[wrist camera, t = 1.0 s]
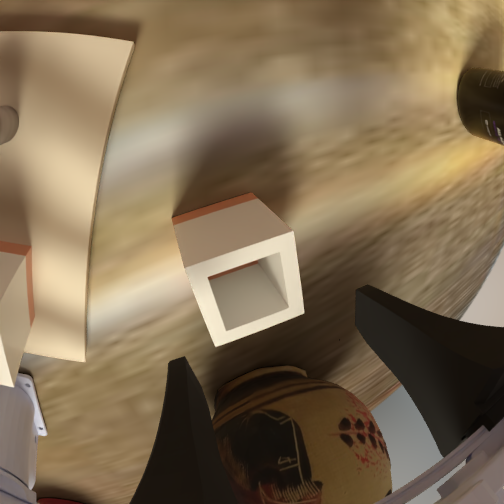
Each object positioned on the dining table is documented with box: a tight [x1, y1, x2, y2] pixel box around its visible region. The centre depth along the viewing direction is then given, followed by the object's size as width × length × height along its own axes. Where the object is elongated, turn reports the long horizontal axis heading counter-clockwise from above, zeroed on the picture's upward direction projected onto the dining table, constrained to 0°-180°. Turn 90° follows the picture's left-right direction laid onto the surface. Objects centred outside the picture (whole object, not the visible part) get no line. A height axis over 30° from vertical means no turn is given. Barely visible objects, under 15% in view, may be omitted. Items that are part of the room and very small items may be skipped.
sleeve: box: [172, 192, 304, 347], centre depth 17 cm, size 5×5×6 cm
